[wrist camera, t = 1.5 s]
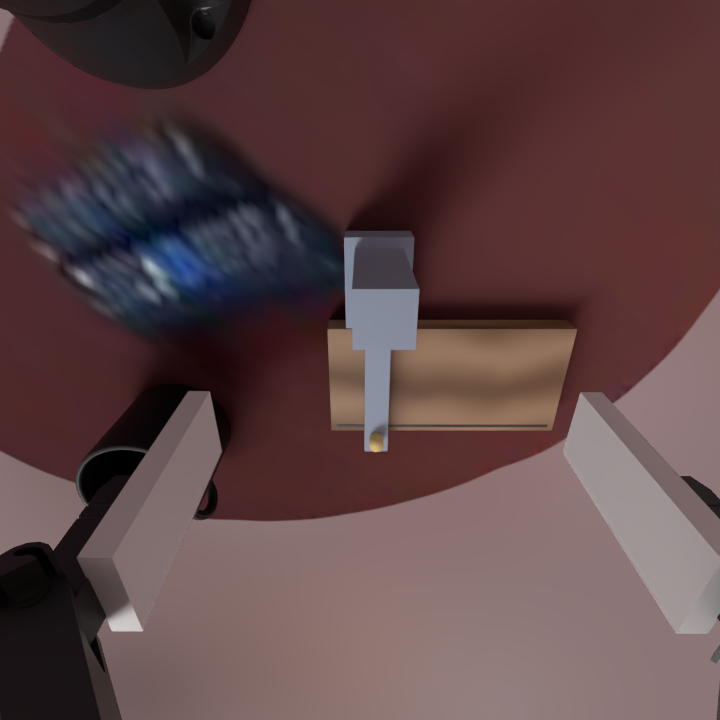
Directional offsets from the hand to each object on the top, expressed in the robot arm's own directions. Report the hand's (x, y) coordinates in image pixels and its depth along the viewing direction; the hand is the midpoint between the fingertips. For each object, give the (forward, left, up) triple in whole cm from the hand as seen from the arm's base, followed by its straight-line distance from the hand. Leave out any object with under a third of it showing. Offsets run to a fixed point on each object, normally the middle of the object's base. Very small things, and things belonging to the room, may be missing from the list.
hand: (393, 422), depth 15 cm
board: (+9, +6, -21) cm, 23 cm away
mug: (+16, -18, -21) cm, 32 cm away
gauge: (+6, 0, -20) cm, 21 cm away
